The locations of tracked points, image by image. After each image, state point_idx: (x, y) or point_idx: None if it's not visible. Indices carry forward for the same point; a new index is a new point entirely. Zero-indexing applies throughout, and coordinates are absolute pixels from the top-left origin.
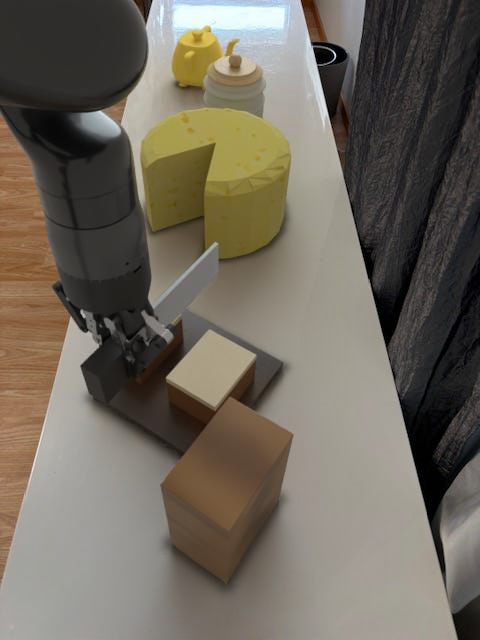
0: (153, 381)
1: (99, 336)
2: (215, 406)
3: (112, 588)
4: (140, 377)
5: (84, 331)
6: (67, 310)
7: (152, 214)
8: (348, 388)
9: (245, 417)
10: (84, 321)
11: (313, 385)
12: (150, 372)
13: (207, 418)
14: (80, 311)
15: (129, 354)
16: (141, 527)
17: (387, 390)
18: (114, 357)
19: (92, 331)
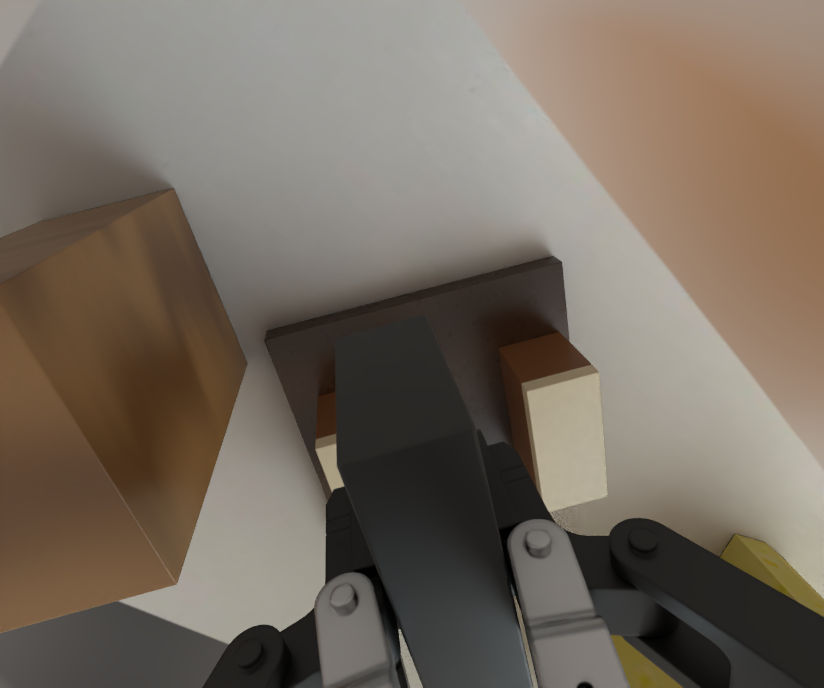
0: (486, 368)
1: (532, 593)
2: (316, 450)
3: (161, 26)
4: (505, 360)
5: (623, 532)
6: (795, 603)
7: (765, 570)
8: (243, 590)
9: (86, 583)
10: (660, 599)
11: (285, 556)
12: (504, 377)
13: (335, 405)
14: (725, 654)
15: (331, 646)
16: (244, 161)
17: (200, 628)
18: (390, 566)
19: (566, 634)
